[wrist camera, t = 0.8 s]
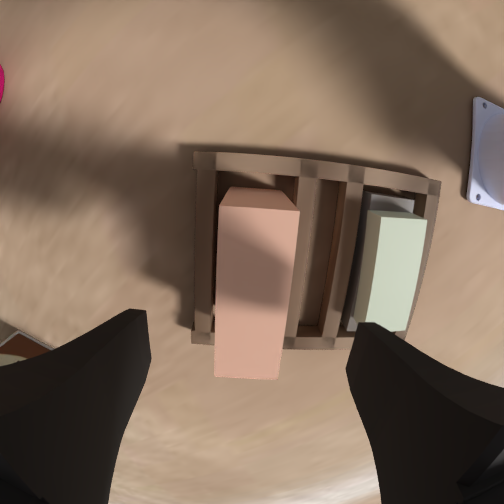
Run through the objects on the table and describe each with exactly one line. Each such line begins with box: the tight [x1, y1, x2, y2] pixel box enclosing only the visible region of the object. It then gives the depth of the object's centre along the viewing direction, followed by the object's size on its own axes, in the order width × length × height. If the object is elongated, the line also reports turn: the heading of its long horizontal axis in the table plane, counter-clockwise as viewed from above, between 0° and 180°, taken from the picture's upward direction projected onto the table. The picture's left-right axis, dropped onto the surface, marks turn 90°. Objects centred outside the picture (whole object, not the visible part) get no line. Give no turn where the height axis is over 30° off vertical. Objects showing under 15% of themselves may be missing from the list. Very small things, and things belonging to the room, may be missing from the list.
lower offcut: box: [341, 191, 415, 331], centre depth 19 cm, size 3×9×2 cm, turn 176°
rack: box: [191, 151, 441, 350], centre depth 19 cm, size 15×12×2 cm
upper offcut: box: [353, 210, 427, 332], centre depth 17 cm, size 3×7×2 cm, turn 179°
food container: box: [0, 330, 54, 366], centre depth 18 cm, size 12×6×10 cm, turn 71°
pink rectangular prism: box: [214, 187, 300, 379], centre depth 16 cm, size 3×8×7 cm, turn 176°
